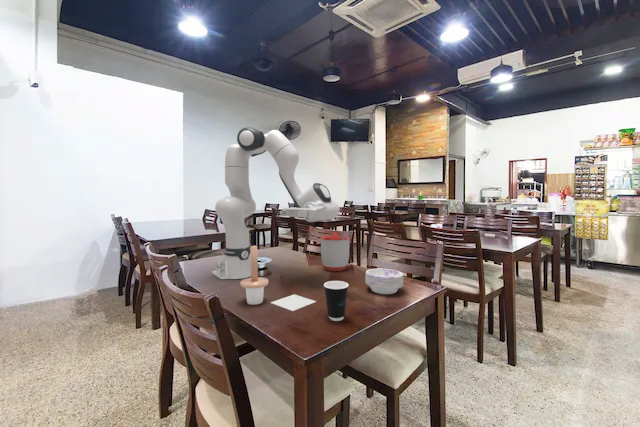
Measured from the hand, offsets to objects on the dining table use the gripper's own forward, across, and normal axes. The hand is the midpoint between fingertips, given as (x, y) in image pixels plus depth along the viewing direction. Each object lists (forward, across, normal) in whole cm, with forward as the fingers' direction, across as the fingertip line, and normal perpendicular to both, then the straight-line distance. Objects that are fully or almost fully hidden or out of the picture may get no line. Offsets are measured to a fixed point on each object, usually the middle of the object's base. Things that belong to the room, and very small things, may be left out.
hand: (288, 213), depth 122 cm
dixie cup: (+9, +32, +32) cm, 46 cm away
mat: (+9, +12, +32) cm, 35 cm away
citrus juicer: (-41, -8, +32) cm, 53 cm away
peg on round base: (+18, +1, +25) cm, 31 cm away
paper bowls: (-25, +30, +32) cm, 51 cm away
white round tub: (+18, +1, +32) cm, 37 cm away
